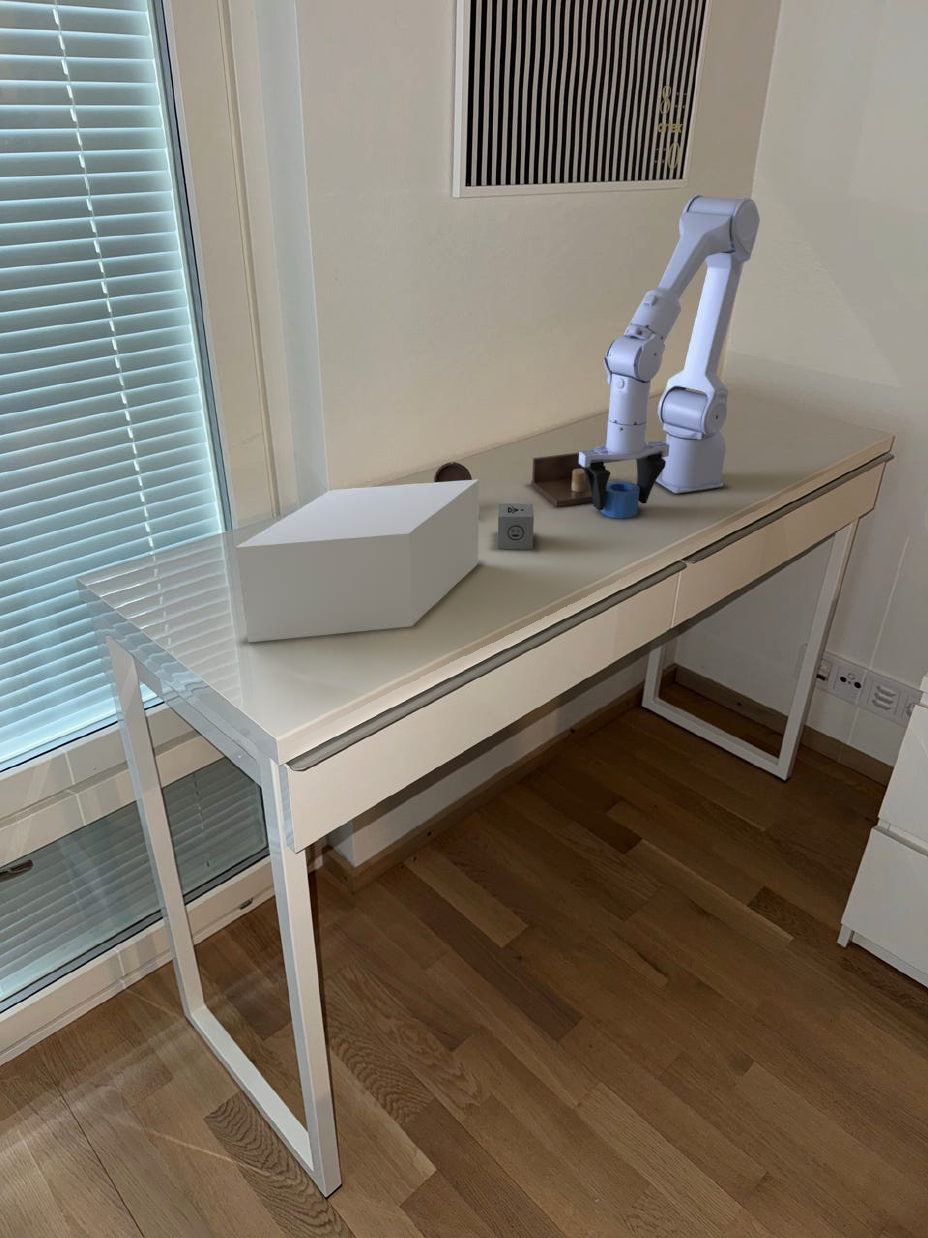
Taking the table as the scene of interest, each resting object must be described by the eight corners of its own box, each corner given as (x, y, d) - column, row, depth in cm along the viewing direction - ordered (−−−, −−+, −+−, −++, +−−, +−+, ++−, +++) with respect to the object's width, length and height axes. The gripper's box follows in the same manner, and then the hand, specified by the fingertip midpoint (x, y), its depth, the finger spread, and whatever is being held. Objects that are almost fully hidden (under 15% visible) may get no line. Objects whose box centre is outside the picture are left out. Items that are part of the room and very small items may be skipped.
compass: (419, 520, 140) (418, 475, 137) (437, 502, 147) (436, 458, 143) (469, 526, 138) (469, 481, 134) (484, 507, 144) (485, 464, 141)
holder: (589, 477, 156) (591, 449, 154) (617, 498, 148) (620, 468, 146) (531, 485, 153) (532, 457, 151) (556, 507, 145) (558, 477, 142)
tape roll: (626, 502, 146) (628, 479, 144) (643, 515, 142) (646, 491, 140) (594, 507, 145) (596, 483, 143) (611, 520, 140) (613, 496, 138)
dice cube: (497, 534, 135) (498, 503, 133) (531, 535, 135) (532, 503, 133) (497, 548, 131) (498, 516, 129) (532, 549, 131) (533, 517, 128)
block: (519, 586, 121) (522, 498, 115) (283, 673, 102) (272, 574, 96) (440, 542, 133) (439, 461, 127) (216, 614, 114) (203, 522, 108)
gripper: (655, 407, 142) (647, 489, 148) (571, 417, 137) (566, 501, 144) (680, 420, 136) (670, 505, 142) (593, 430, 131) (587, 517, 138)
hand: (619, 504), depth 143 cm, fingers open, 7 cm apart
